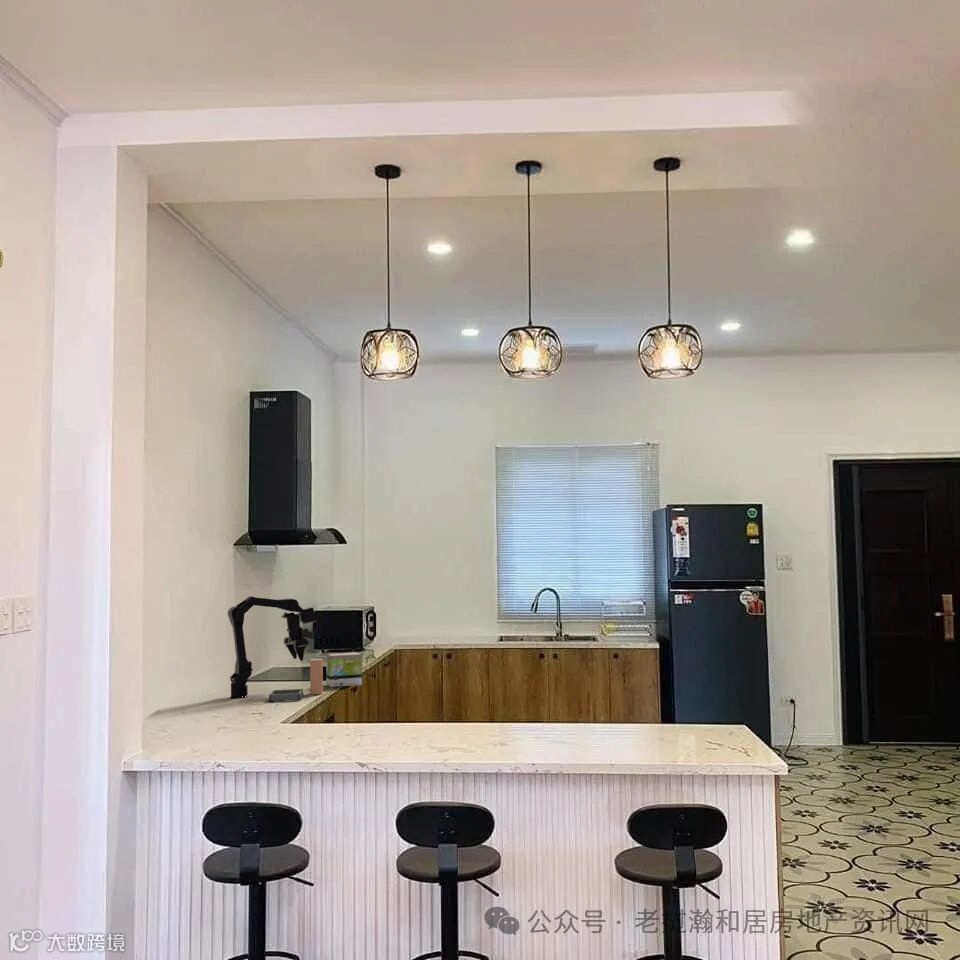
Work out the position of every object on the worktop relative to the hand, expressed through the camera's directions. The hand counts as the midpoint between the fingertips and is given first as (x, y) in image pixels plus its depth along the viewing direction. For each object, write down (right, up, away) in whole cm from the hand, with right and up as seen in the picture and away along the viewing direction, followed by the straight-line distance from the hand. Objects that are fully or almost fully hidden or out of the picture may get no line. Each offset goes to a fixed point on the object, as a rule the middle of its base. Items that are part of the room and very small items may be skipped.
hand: (298, 659), depth 404 cm
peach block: (+10, -13, -11) cm, 20 cm away
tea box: (+19, -15, +12) cm, 27 cm away
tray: (0, -12, -23) cm, 26 cm away
